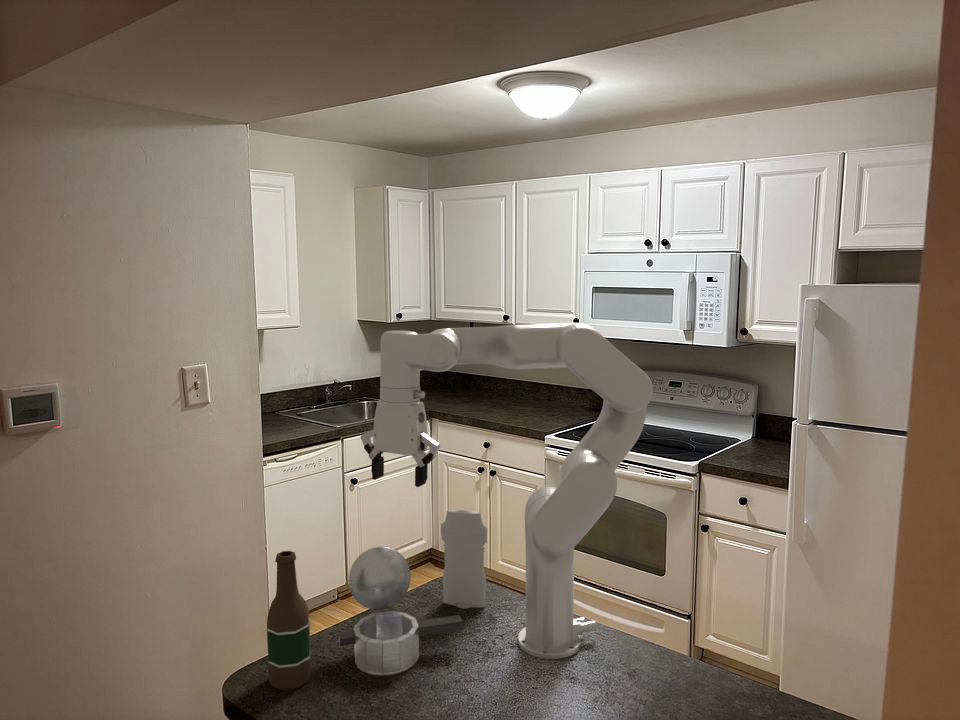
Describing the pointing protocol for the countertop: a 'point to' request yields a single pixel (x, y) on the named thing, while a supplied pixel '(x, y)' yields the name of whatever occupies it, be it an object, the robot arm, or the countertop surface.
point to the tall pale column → (464, 559)
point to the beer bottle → (288, 629)
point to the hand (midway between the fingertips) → (399, 481)
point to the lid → (379, 578)
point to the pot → (392, 640)
